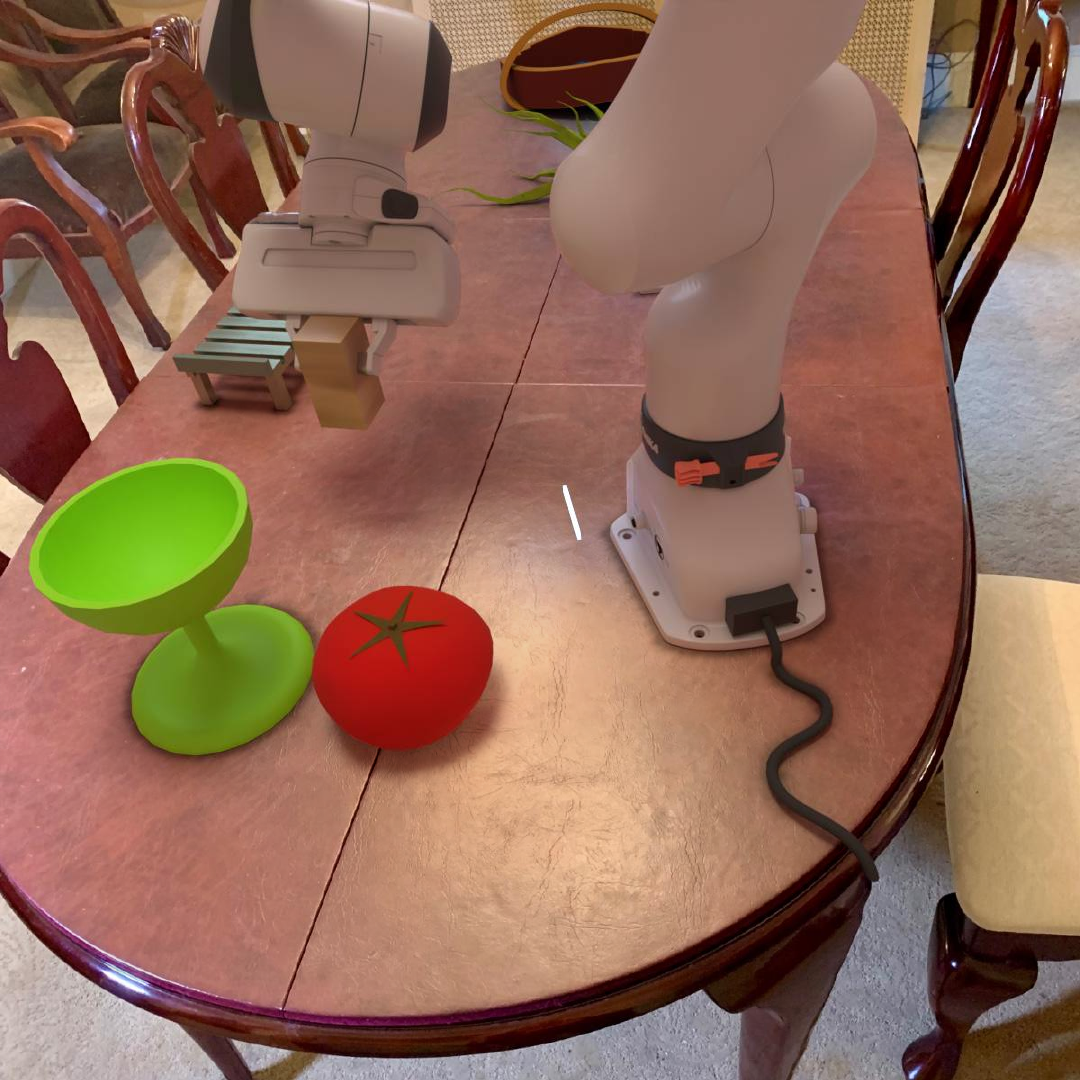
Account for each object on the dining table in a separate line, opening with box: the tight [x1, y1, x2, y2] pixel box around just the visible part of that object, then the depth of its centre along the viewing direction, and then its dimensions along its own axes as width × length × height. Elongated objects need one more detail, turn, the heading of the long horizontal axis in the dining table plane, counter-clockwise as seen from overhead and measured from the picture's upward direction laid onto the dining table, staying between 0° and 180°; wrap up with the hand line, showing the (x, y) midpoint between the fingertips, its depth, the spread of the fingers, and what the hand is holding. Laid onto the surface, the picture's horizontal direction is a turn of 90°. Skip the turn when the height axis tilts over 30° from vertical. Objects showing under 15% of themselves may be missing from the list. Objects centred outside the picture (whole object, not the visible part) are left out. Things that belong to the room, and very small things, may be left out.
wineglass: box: [28, 457, 315, 756], centre depth 76 cm, size 16×16×18 cm
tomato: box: [311, 585, 495, 752], centre depth 74 cm, size 14×13×10 cm
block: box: [291, 315, 386, 431], centre depth 81 cm, size 4×4×9 cm
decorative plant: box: [430, 91, 605, 205], centre depth 138 cm, size 18×30×15 cm, turn 61°
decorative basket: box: [499, 1, 659, 111], centre depth 166 cm, size 34×29×15 cm
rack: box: [171, 304, 295, 411], centre depth 113 cm, size 17×12×8 cm
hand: (337, 373), depth 81 cm, fingers closed on block, 4 cm apart
